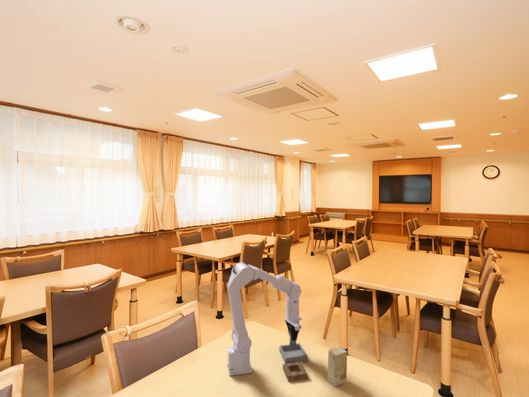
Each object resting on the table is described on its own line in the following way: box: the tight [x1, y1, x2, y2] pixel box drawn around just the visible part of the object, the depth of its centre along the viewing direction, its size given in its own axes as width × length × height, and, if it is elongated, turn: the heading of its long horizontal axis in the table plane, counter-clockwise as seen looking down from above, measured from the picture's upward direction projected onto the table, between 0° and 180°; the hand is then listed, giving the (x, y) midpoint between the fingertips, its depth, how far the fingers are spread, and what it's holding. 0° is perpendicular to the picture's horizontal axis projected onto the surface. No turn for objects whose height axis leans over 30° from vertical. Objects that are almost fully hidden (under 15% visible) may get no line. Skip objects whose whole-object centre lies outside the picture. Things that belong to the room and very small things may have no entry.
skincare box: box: [327, 346, 348, 387], centre depth 111 cm, size 6×4×12 cm
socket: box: [282, 362, 308, 382], centre depth 116 cm, size 8×8×2 cm
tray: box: [278, 342, 308, 364], centre depth 129 cm, size 10×10×2 cm
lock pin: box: [289, 333, 297, 348], centre depth 128 cm, size 3×3×8 cm
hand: (292, 338), depth 128 cm, fingers closed on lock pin, 3 cm apart
